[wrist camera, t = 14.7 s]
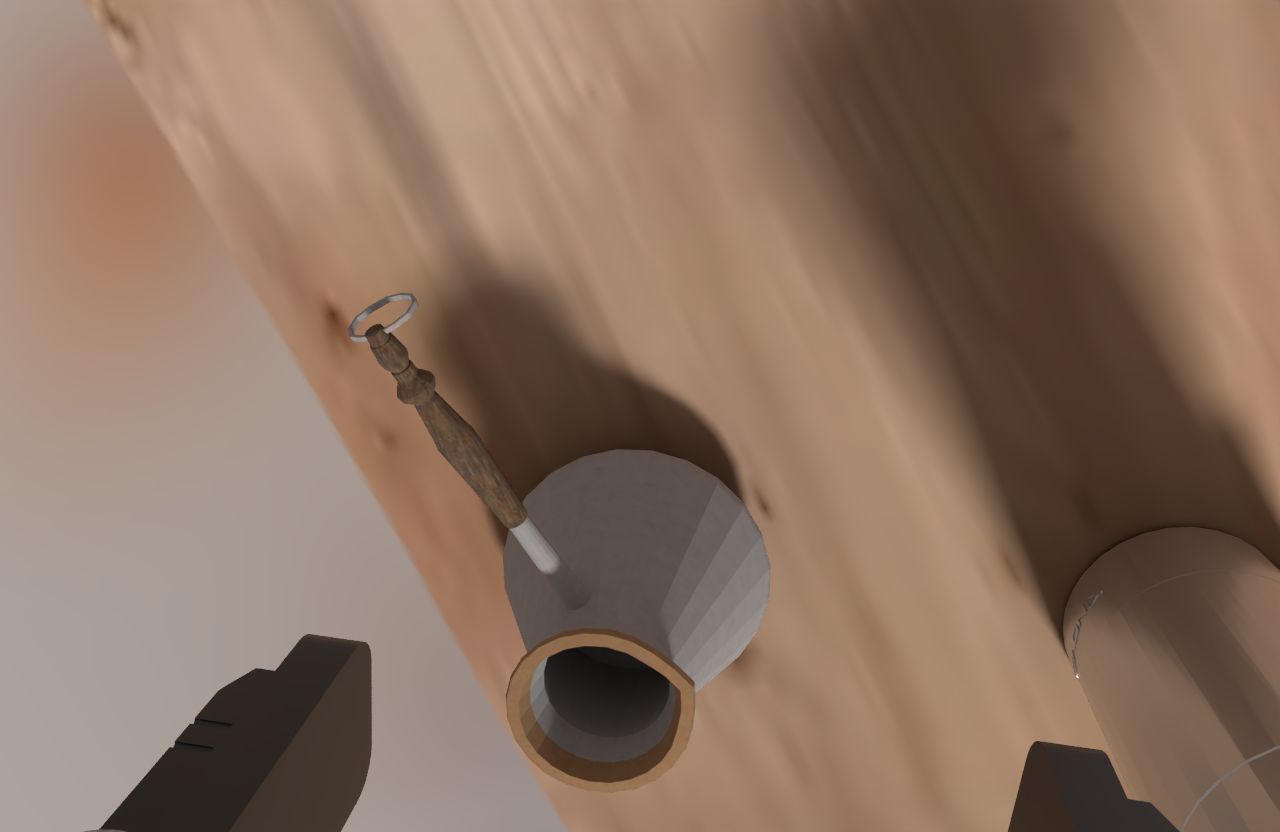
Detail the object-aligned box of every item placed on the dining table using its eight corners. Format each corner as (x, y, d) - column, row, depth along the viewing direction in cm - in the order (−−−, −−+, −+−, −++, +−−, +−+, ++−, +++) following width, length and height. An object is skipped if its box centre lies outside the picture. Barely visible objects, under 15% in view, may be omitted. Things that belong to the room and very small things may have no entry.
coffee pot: (808, 615, 48) (821, 852, 34) (580, 684, 51) (504, 930, 37) (621, 170, 42) (544, 235, 28) (376, 275, 45) (195, 381, 31)
